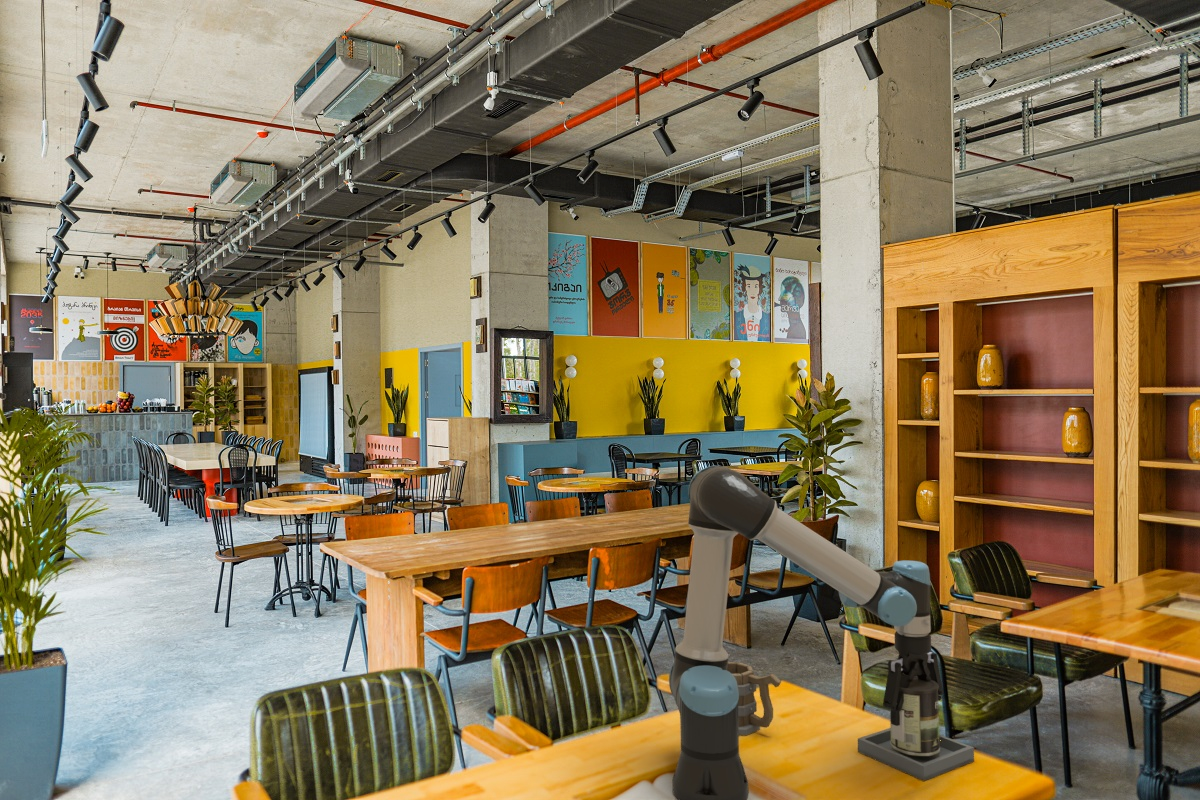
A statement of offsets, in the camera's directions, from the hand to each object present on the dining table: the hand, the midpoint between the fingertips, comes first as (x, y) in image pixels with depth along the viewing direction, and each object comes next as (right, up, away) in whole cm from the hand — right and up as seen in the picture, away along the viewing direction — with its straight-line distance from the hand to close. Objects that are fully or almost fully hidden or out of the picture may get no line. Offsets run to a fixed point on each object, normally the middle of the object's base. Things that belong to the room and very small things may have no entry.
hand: (914, 733), depth 176 cm
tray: (0, -5, 0) cm, 5 cm away
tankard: (-35, -6, +16) cm, 39 cm away
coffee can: (0, -3, 0) cm, 3 cm away
